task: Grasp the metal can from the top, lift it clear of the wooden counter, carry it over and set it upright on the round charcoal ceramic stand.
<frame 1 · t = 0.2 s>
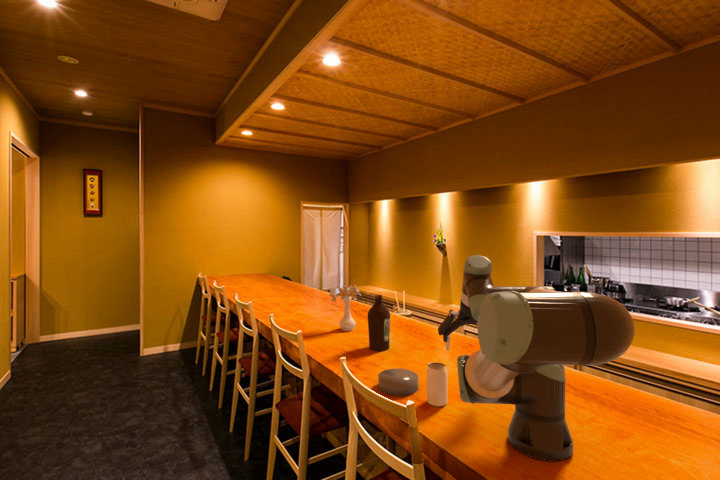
hand: (467, 346, 126), 16 cm above the table, tool tilted 30°, fingers open, 13 cm apart
flower vase: (347, 330, 207), on the table
can: (437, 403, 120), on the table
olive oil: (379, 348, 175), on the table
stand: (398, 387, 132), on the table
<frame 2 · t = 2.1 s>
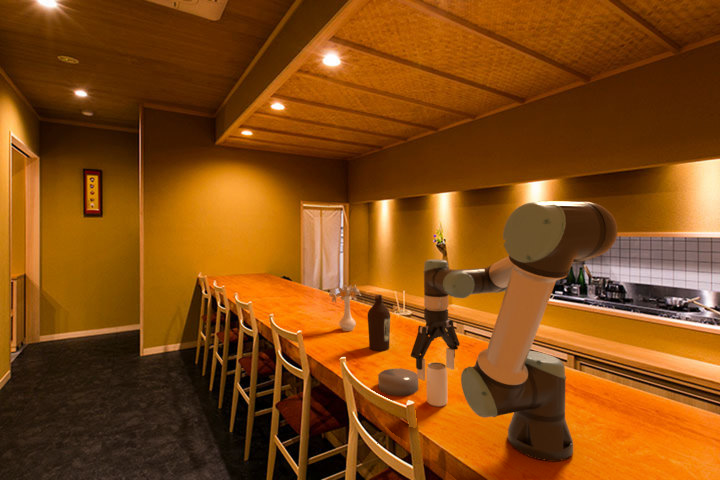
hand: (436, 373, 120), 9 cm above the table, tool pointing down, fingers open, 13 cm apart
nothing on the table moved.
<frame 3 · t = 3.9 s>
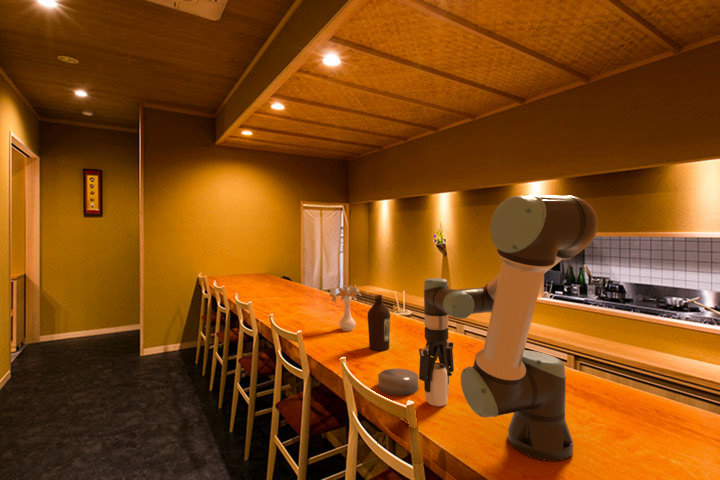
hand: (437, 397, 120), 1 cm above the table, tool pointing down, fingers closed on can, 6 cm apart
can: (437, 402, 120), on the table, touching gripper
everything else where it was.
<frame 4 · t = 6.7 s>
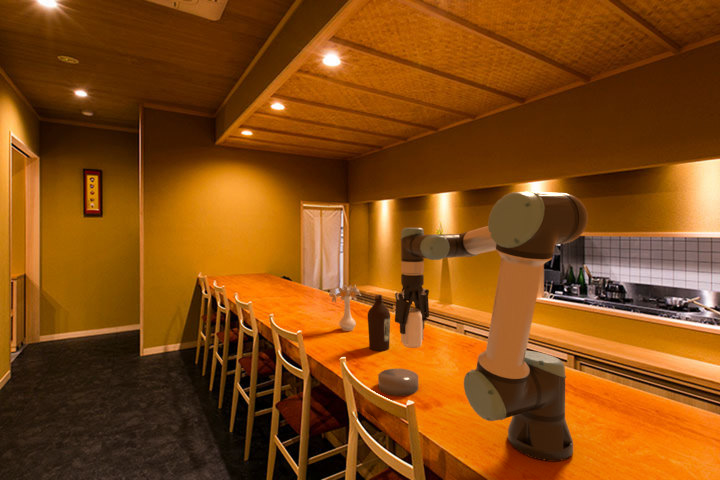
hand: (412, 340, 127), 18 cm above the table, tool pointing down, fingers closed on can, 6 cm apart
can: (412, 345, 127), point 16 cm above the table, touching gripper
everything else where it was.
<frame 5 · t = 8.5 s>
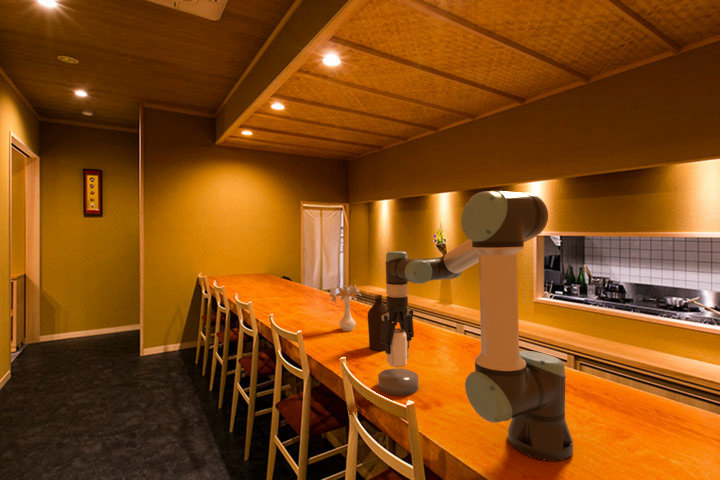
hand: (397, 360, 132), 10 cm above the table, tool pointing down, fingers closed on can, 6 cm apart
can: (397, 364, 132), point 8 cm above the table, touching gripper
everything else where it was.
when the fingers open (7 cm above the table, at t = 9.8 s): can drops 1 cm, resting on stand.
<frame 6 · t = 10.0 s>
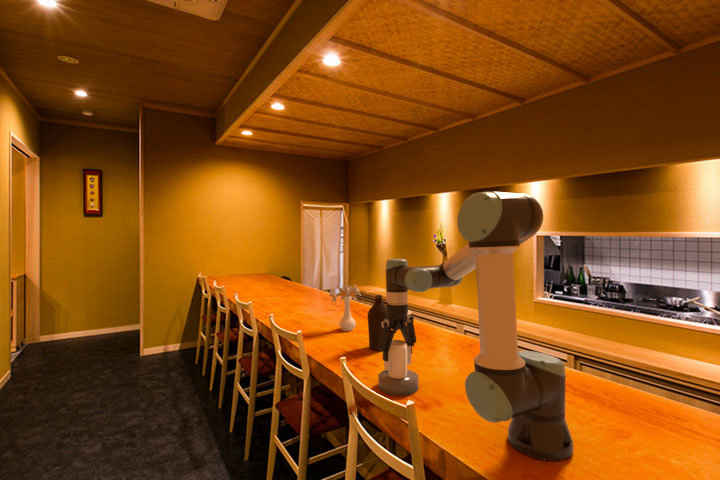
hand: (397, 366, 132), 7 cm above the table, tool pointing down, fingers open, 9 cm apart
can: (397, 376, 132), point 4 cm above the table, touching stand
everything else where it was.
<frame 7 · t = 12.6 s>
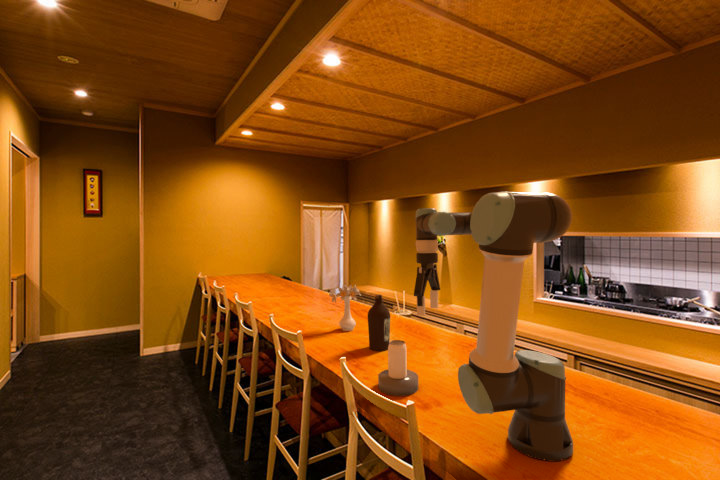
hand: (428, 311, 133), 26 cm above the table, tool pointing down, fingers open, 13 cm apart
nothing on the table moved.
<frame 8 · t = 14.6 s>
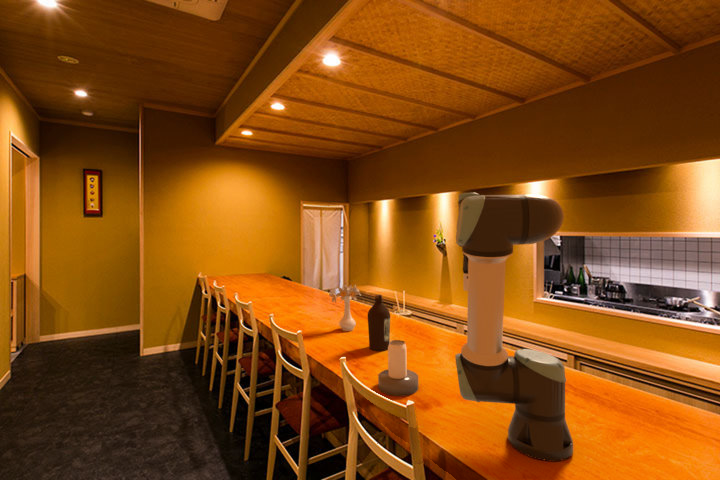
hand: (469, 293, 137), 32 cm above the table, tool pointing down, fingers open, 13 cm apart
nothing on the table moved.
at the end: can inside the target area on the stand (0.1 cm from its centre), point 3.8 cm above the stand's base; can tilted 0°; the gripper is holding nothing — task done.
